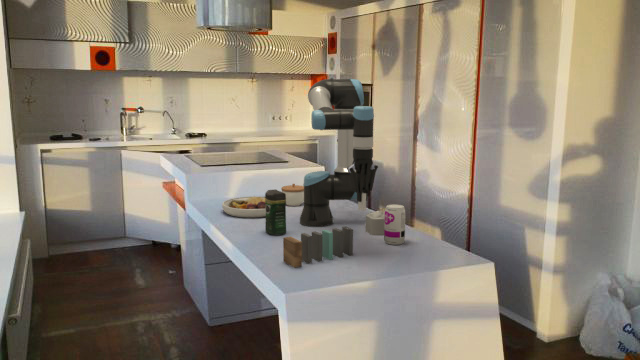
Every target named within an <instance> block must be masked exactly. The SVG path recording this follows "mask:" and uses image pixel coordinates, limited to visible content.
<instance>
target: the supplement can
mask: <svg viewBox="0 0 640 360" xmlns="http://www.w3.org/2000/svg"><path fill="white" fill-rule="evenodd" d="M384 212H385V224H384V235H383V236H384V237H383V241H384V242H385V244H388V245H392V246H398V245H399V246H400V245H403V244H404V243H405V240H406V239H405V237H406V208H405V206H404V205H402V204H396V203H395V204H387V205H386V207H385V209H384Z"/></svg>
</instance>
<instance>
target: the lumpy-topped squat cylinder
mask: <svg viewBox="0 0 640 360" xmlns="http://www.w3.org/2000/svg"><path fill="white" fill-rule="evenodd" d="M384 224H385V211H383V212H382V211H381V210H376V211H374V212H373V211H372V212H370V213H367V214H366V215H365V233H368V234H369V235H371V236H384Z"/></svg>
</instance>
